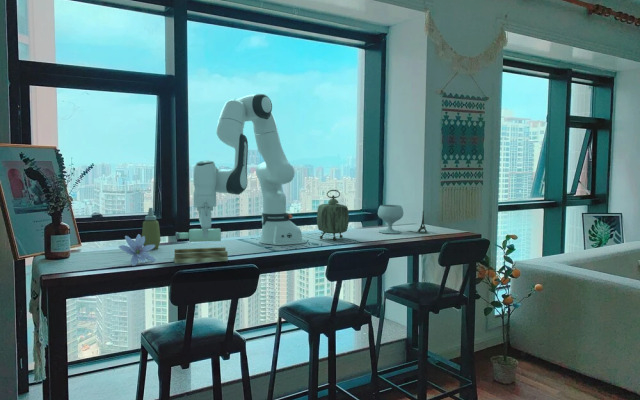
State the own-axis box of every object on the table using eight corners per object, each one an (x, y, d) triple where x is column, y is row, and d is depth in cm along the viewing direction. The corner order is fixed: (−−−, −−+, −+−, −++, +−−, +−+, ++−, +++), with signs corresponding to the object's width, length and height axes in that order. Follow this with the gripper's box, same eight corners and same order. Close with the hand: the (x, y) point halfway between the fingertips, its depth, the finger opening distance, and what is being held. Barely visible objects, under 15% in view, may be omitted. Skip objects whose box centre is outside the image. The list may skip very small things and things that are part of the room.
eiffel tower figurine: (405, 232, 274) (406, 208, 273) (417, 230, 281) (418, 207, 280) (426, 235, 263) (427, 211, 262) (438, 234, 269) (439, 210, 268)
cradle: (224, 255, 202) (224, 246, 202) (227, 260, 190) (227, 252, 190) (174, 257, 196) (174, 248, 196) (174, 263, 185) (174, 254, 184)
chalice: (388, 230, 278) (388, 203, 277) (408, 232, 268) (408, 205, 267) (372, 232, 269) (372, 205, 268) (391, 235, 259) (392, 207, 257)
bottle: (219, 240, 197) (219, 227, 197) (220, 241, 192) (220, 229, 192) (175, 241, 192) (175, 228, 192) (175, 243, 188) (175, 230, 187)
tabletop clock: (343, 237, 250) (344, 189, 248) (349, 240, 241) (350, 190, 239) (316, 238, 245) (317, 189, 243) (322, 241, 237) (322, 190, 235)
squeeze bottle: (154, 250, 210) (154, 209, 208) (137, 249, 211) (136, 208, 210) (164, 247, 218) (163, 207, 216) (147, 246, 219) (147, 206, 218)
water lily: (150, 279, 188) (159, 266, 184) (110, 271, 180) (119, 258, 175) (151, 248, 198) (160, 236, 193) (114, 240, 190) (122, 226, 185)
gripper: (215, 204, 183) (215, 240, 184) (211, 199, 202) (211, 232, 204) (197, 204, 181) (197, 241, 182) (195, 199, 201) (196, 233, 202)
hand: (205, 236), depth 193 cm, fingers closed on bottle, 5 cm apart
